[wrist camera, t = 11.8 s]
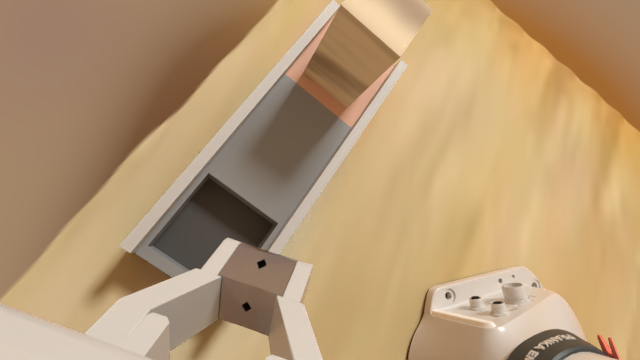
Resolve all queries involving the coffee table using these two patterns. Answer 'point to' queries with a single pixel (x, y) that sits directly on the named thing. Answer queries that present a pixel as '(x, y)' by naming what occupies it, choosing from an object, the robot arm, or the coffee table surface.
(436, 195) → the coffee table surface
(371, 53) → the block
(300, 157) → the lane
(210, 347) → the coffee table surface
